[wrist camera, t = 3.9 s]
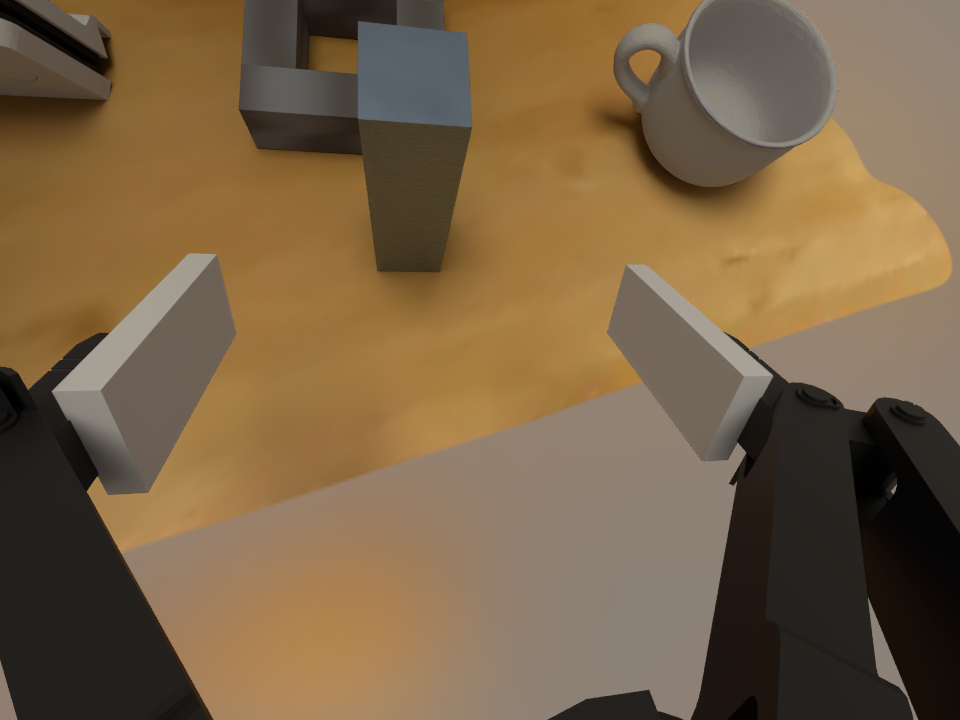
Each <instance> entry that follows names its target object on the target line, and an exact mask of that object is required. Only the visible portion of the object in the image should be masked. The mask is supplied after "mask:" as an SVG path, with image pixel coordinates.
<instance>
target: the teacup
mask: <svg viewBox="0 0 960 720" xmlns="http://www.w3.org/2000/svg"><path fill="white" fill-rule="evenodd" d="M647 49H650V50H654V51H656V52H657V53H659V54H660V55H661V61H660V63H659V65H658V67H657V68H656V70H655V72H654V74H653V75H652V77H651V79H650V81H649V84H648V85H646V84H645V83H644V82H642V81H641V80H640V79H639V78H638V77H637V76H636V75H635V74H634V72H633V71H632V69H631V67H630V65H629V61H628V60H629V59H630V57H631V56H632V55H634V54H635V53H637V52H639V51H641V50H647ZM614 75H615V78H616V81H617V83H618V85H619V86H620V87H621V89H622V90H623V91H624V93H625V94H626V95H627V96H628V97H629V98H630V99H631V100H632V103H633V108H634V110H635V111H636V112H638V113H640V114H641V121H642V128H643V133H644V136H645V139H646V142H647V144H648V147H649V148H650V150H651V152H652V154H653V155H654V157H655V158H656V159H657V161H658V162H659V163H660V164H661V165H662V166H663V167H664V168H665V169H666V170H667V171H668V172H670V173H671V174H672V175H674V176H675V177H677V178H679V179H680V180H682V181H685V182H687V183H690V184H693V185H697V186H703V187H721V186H726V185H730V184H734V183H737V182H739V181H741V180H744V179H746V178H748V177H750V176H751V175H753V174H755V173H756V172H758V171H760V170H761V169H763V168H765V167H766V166H768V165H769V164H771V163H772V162H774V161H775V160H777V159H778V158H780V157H781V156H783V155H784V154H785V153H787V152H788V151H790V150H791V149H792V148H794V147H795V146H798V145H800V144H802V143H804V142H806V141H808V140H810V139H811V138H812V137H814V136H815V135H817V134H818V133H819V132H820V130H821V129H822V128H823V127H824V125H825V124H826V123H827V121H828V119H829V117H830V115H831V113H832V111H833V109H834V105H835V101H836V98H837V94H838V89H837V69H836V66H835V63H834V58H833V55H832V53H831V51H830V48H829V46H828V44H827V42H826V40H825V38H824V37H823V35H822V33H821V32H820V31H819V29H818V28H817V27H816V26H815V24H814V23H813V22H812V20H811V19H810V18H809V17H808V16H807V15H806V14H805V13H804V12H803V11H802V10H801V9H800V8H798V7H797V6H795V5H794V4H793V3H792V2H790V1H789V0H704V1H702V2H701V3H700V5H699V6H698V7H697V8H696V10H695V11H694V12H693V14H692V16H691V17H690V20H689V22H688V24H687V26H686V27H685V28H684V30H683V31H682V32H681V34H680V35H679V37H678V38H676V36H675V35H674V34H673V33H672V32H671V31H670V29H669V28H667V27H665V26H663V25H661V24H656V23H647V24H643V25H640V26H637V27H636V28H634V29H632V30H630V31H629V32H628V33H627V34H626V35H625V36H624V37H623V38H622V40H621V41H620V42H619V44H618V46H617V48H616V51H615V55H614Z"/></svg>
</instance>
